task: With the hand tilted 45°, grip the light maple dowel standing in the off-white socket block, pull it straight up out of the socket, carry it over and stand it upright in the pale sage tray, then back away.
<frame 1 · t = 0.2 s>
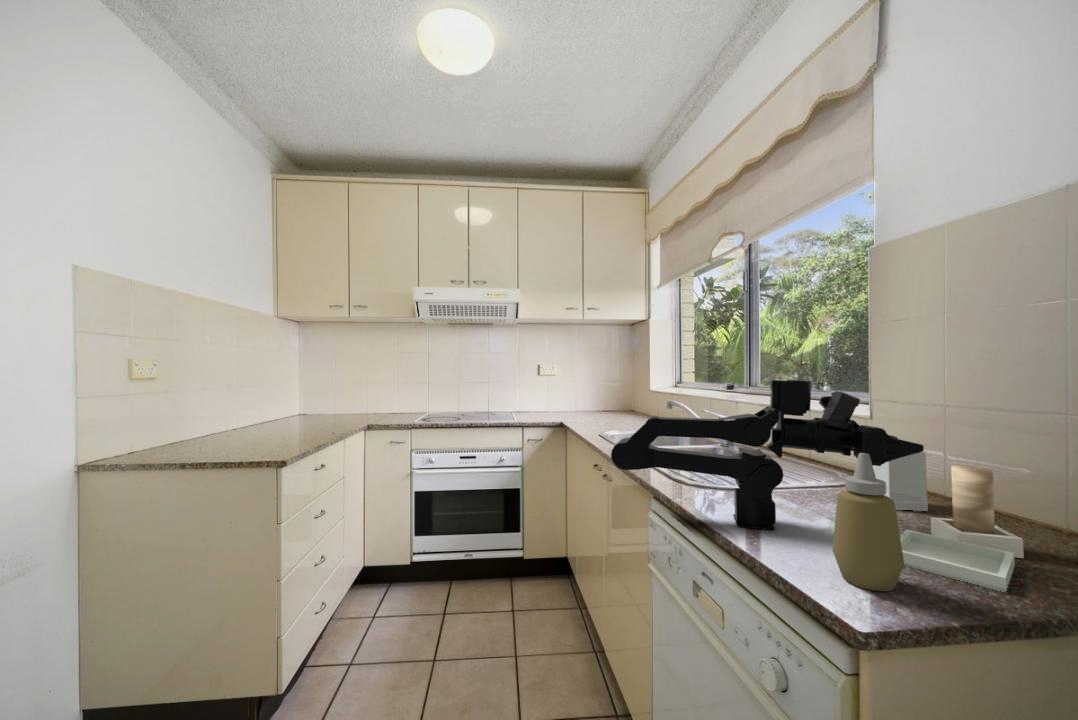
hand: (909, 443, 76), 17 cm above the worktop, tool horizontal, fingers open, 9 cm apart
socket block: (974, 545, 73), on the worktop
sage tray: (950, 563, 66), on the worktop
supplement box: (898, 507, 94), on the worktop
maple dowel: (972, 506, 73), in the socket block
squeeze bottle: (867, 583, 60), on the worktop
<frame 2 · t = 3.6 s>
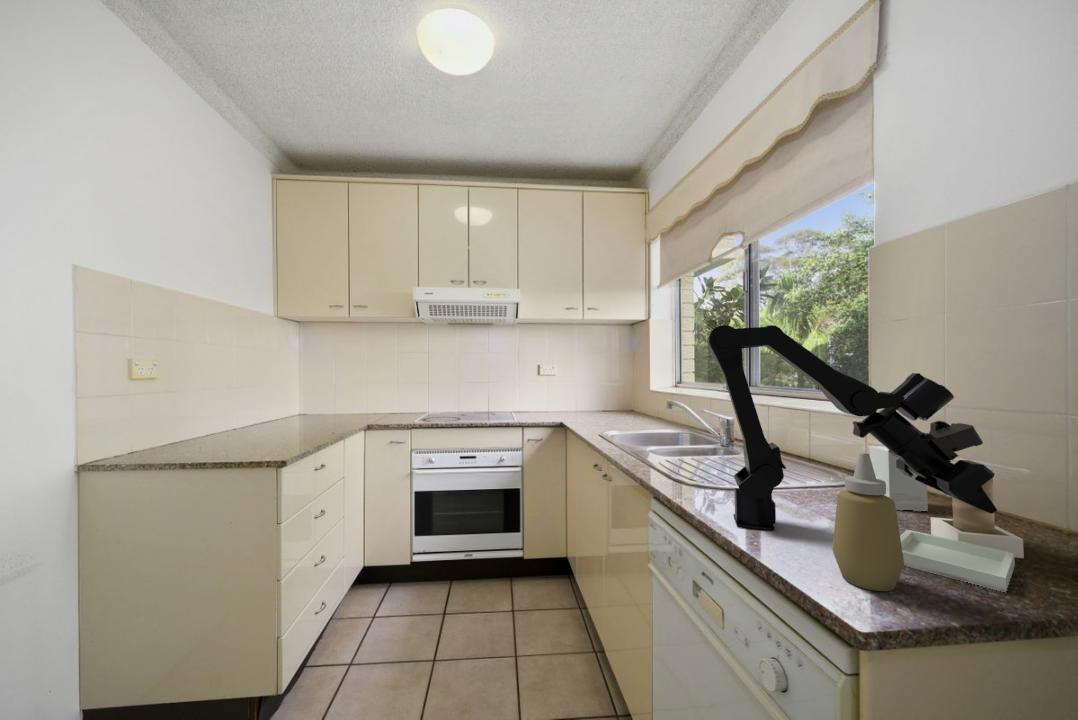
hand: (983, 506, 73), 7 cm above the worktop, tool tilted 45°, fingers closed on maple dowel, 5 cm apart
maple dowel: (972, 506, 73), in the socket block, touching gripper
everything else where it was.
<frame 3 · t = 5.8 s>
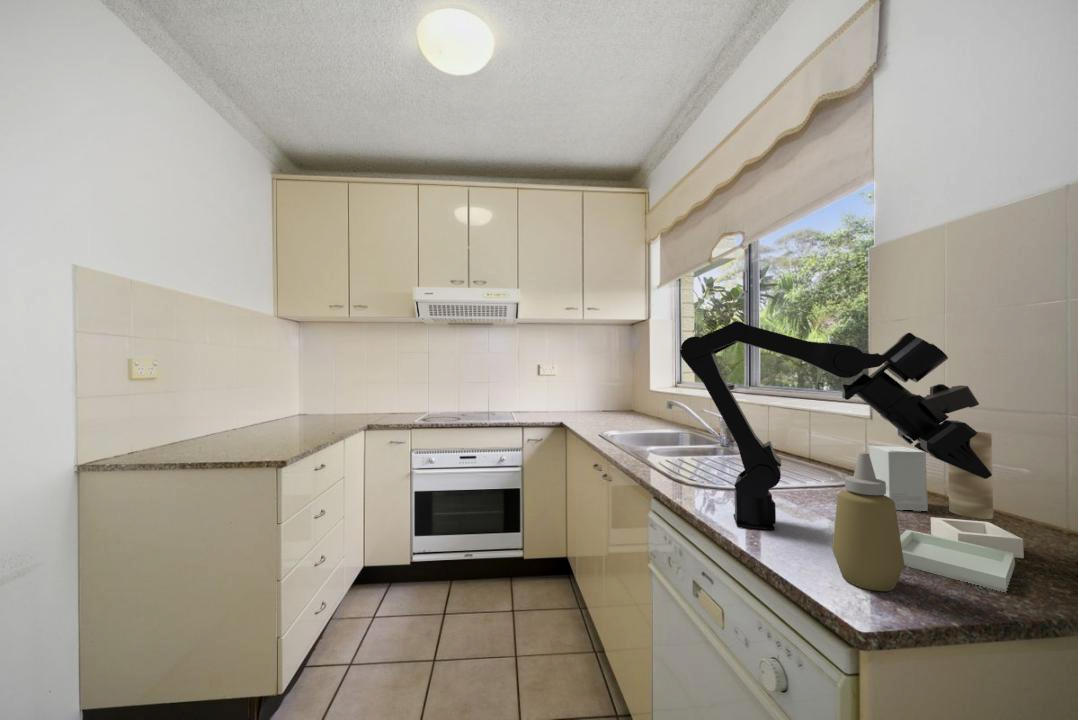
hand: (981, 473, 68), 13 cm above the worktop, tool tilted 45°, fingers closed on maple dowel, 5 cm apart
maple dowel: (969, 472, 69), point 13 cm above the worktop, touching gripper
everything else where it was.
when the fingers open (8 cm above the worktop, at t = 7.9 s): maple dowel drops 1 cm, resting on sage tray.
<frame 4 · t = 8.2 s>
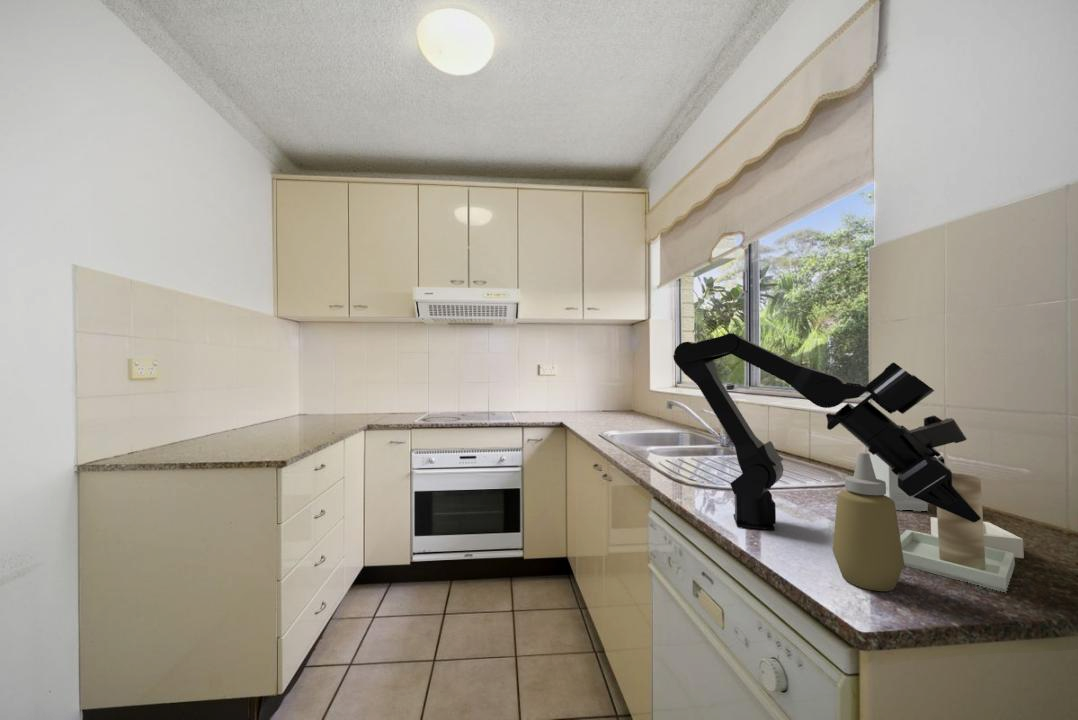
hand: (973, 512, 64), 8 cm above the worktop, tool tilted 45°, fingers open, 8 cm apart
maple dowel: (959, 519, 65), in the sage tray
everything else where it was.
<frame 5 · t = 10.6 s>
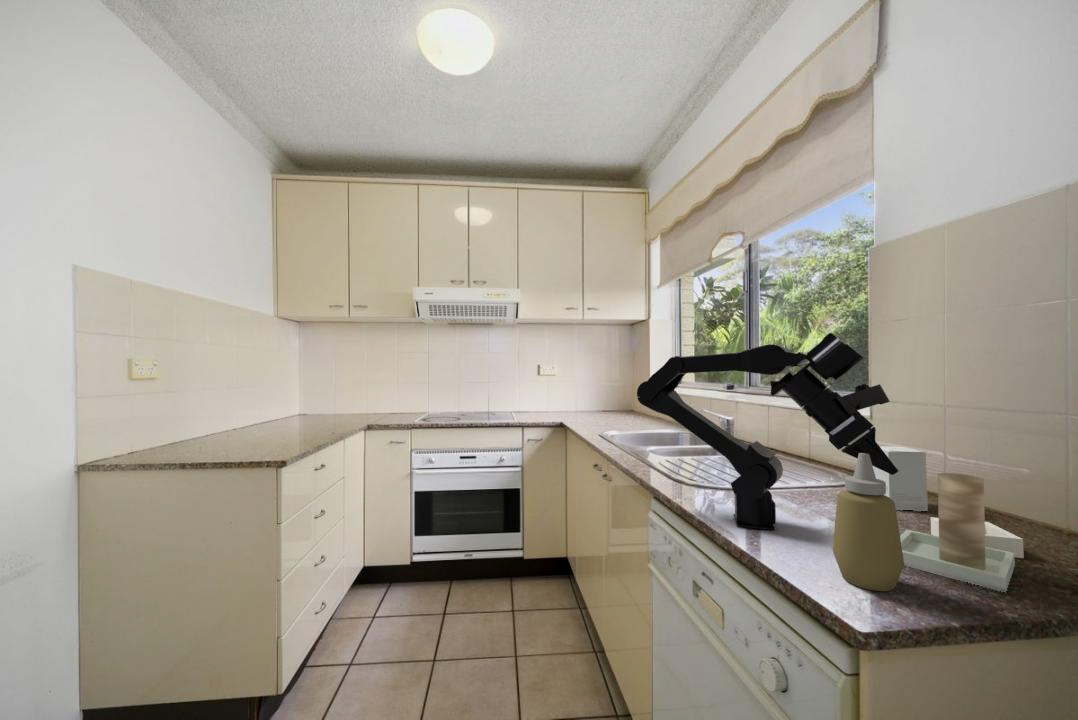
hand: (892, 469, 71), 14 cm above the worktop, tool tilted 45°, fingers open, 9 cm apart
nothing on the worktop moved.
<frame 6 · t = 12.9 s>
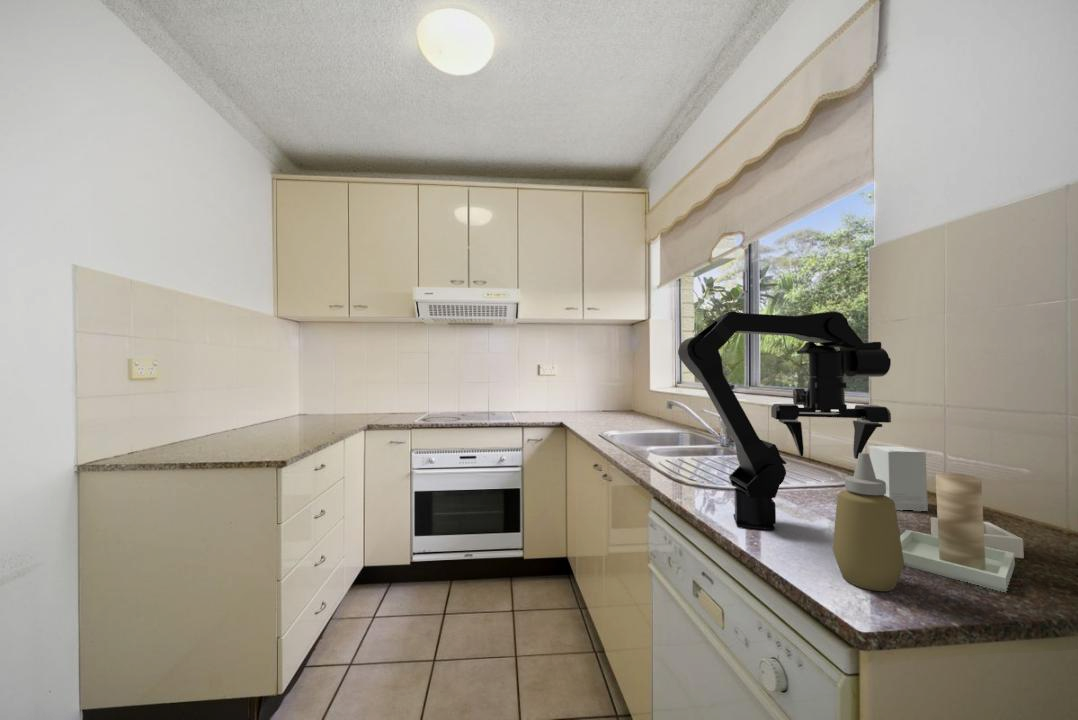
hand: (828, 457, 84), 13 cm above the worktop, tool pointing down, fingers open, 9 cm apart
nothing on the worktop moved.
at the end: maple dowel 1.3 cm off-centre on the sage tray, point 7.0 cm above the sage tray's base; maple dowel tilted 1°; the gripper is holding nothing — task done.
